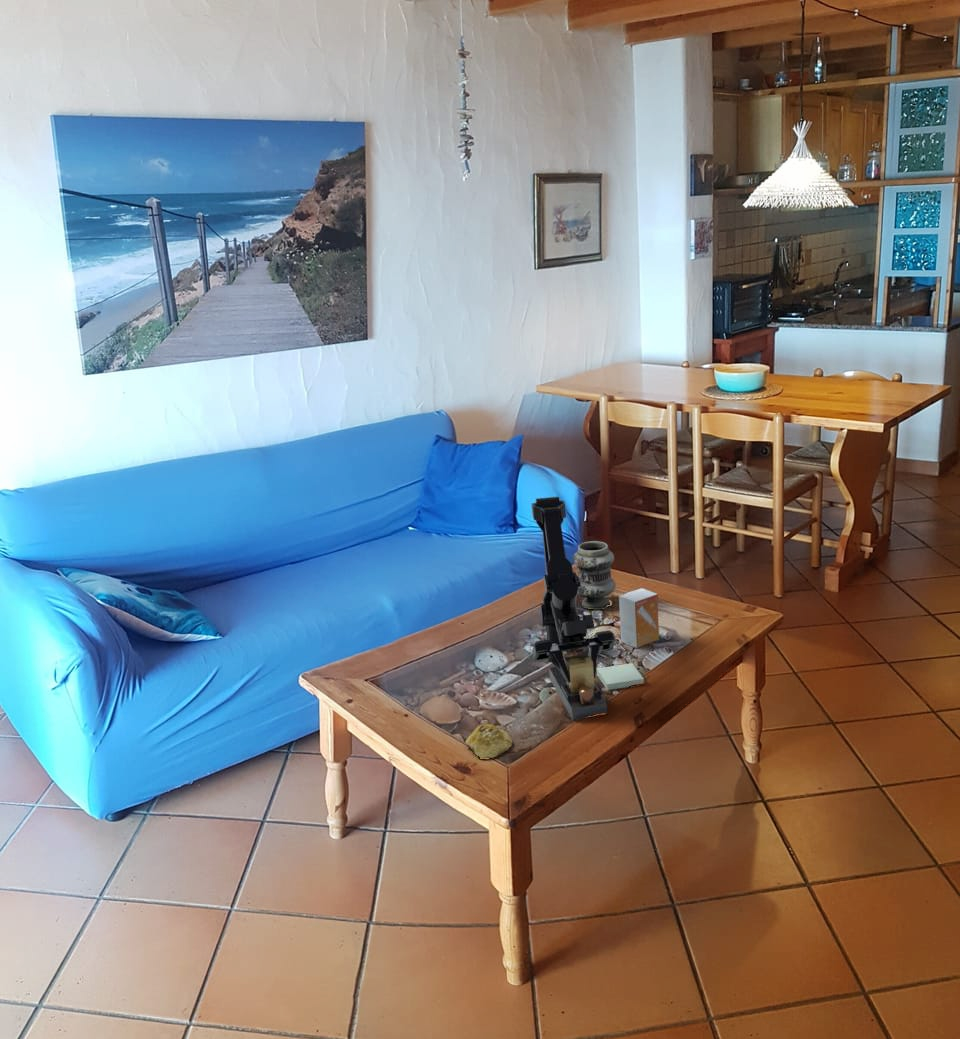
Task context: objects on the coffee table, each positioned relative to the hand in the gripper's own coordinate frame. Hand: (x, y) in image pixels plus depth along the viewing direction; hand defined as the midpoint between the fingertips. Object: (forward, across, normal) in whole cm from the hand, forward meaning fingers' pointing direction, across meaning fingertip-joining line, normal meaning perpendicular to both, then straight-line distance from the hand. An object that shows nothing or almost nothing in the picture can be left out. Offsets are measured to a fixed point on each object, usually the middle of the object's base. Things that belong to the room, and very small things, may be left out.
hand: (581, 680), depth 219 cm
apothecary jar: (-37, +20, +47) cm, 63 cm away
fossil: (+12, -24, -2) cm, 27 cm away
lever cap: (+2, 0, +4) cm, 4 cm away
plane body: (+1, 0, +8) cm, 9 cm away
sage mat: (-3, +12, +12) cm, 17 cm away
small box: (-16, +24, +26) cm, 39 cm away
